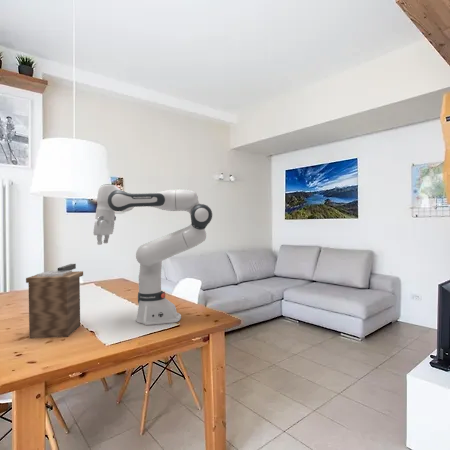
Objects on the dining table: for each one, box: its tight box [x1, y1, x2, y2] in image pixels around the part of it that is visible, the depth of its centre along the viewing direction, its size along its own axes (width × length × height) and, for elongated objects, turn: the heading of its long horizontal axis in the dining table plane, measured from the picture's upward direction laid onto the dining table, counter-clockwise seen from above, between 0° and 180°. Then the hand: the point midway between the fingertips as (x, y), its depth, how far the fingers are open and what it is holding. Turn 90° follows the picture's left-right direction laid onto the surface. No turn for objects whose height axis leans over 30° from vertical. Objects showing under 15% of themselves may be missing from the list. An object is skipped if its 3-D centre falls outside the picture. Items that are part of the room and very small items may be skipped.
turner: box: [36, 263, 77, 277], centre depth 150 cm, size 11×25×2 cm, turn 4°
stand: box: [25, 270, 84, 339], centre depth 143 cm, size 18×16×26 cm
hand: (102, 243), depth 157 cm, fingers open, 8 cm apart
